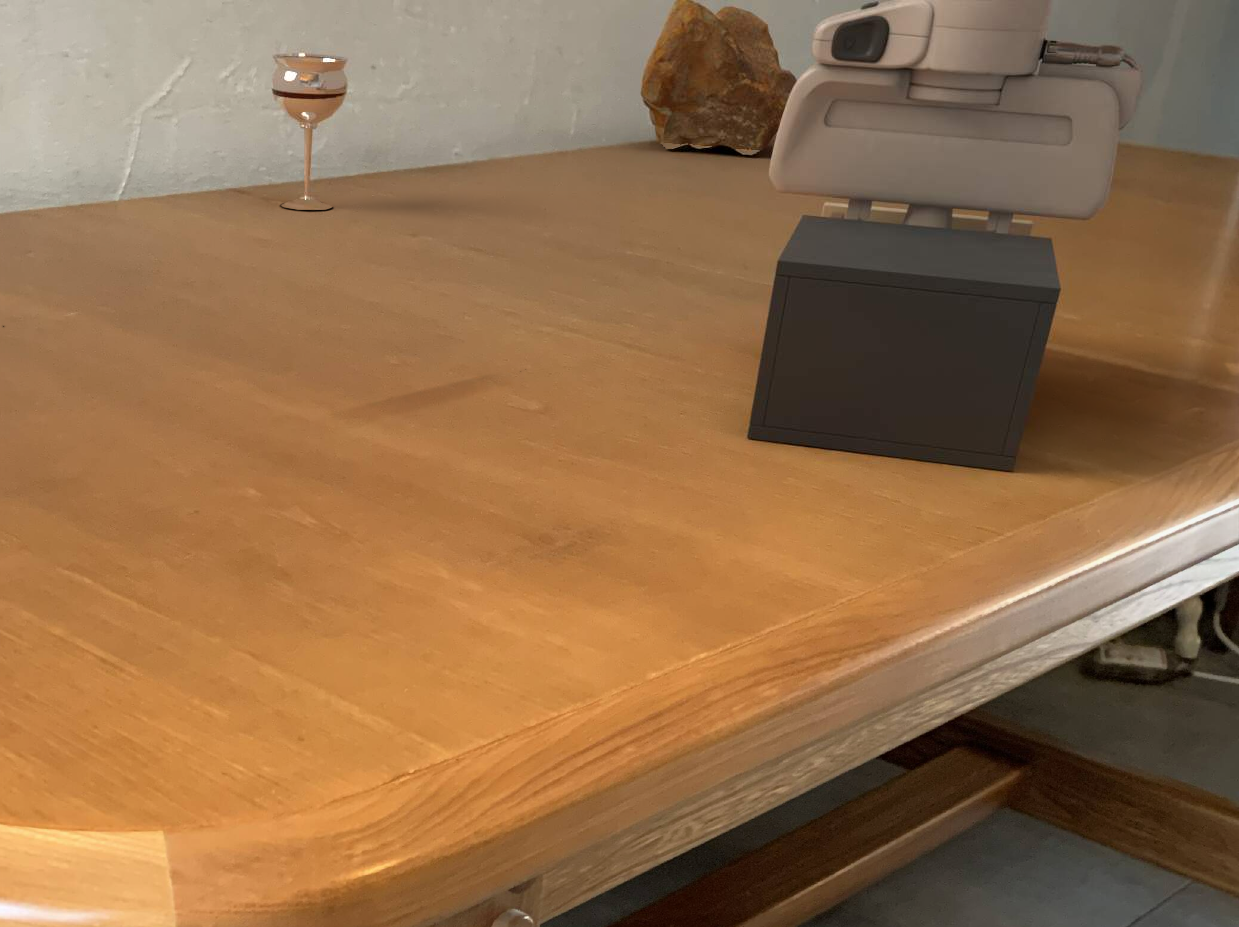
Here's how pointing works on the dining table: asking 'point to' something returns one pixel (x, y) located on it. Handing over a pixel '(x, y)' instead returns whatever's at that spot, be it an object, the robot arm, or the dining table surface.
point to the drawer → (899, 214)
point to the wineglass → (309, 93)
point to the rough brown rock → (715, 79)
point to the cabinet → (905, 341)
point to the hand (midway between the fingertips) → (913, 281)
